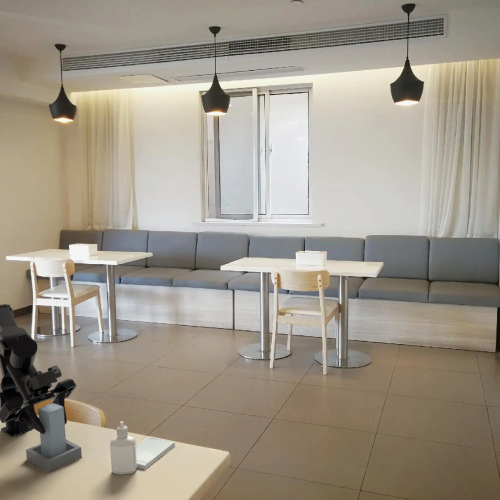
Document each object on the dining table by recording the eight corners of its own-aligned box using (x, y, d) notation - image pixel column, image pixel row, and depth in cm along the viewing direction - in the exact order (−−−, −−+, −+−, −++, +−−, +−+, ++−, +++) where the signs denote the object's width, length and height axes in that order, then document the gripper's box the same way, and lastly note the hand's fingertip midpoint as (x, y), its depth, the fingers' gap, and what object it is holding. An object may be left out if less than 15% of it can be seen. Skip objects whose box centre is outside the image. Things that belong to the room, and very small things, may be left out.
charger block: (42, 459, 128) (38, 408, 127) (56, 452, 132) (52, 402, 130) (52, 464, 126) (48, 412, 124) (67, 457, 129) (63, 406, 128)
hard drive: (148, 435, 137) (117, 457, 126) (174, 441, 133) (144, 465, 122) (149, 441, 137) (117, 464, 126) (175, 447, 133) (145, 471, 122)
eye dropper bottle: (127, 478, 119) (124, 428, 117) (108, 472, 121) (105, 423, 120) (140, 469, 122) (137, 420, 121) (122, 463, 125) (119, 416, 124)
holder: (26, 459, 128) (25, 449, 128) (60, 444, 135) (59, 435, 135) (47, 472, 122) (46, 462, 122) (81, 456, 129) (81, 447, 129)
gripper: (0, 369, 120) (32, 426, 115) (69, 348, 136) (100, 397, 131) (-15, 395, 126) (15, 450, 121) (53, 372, 141) (82, 420, 136)
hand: (55, 428), depth 127 cm, fingers open, 6 cm apart
